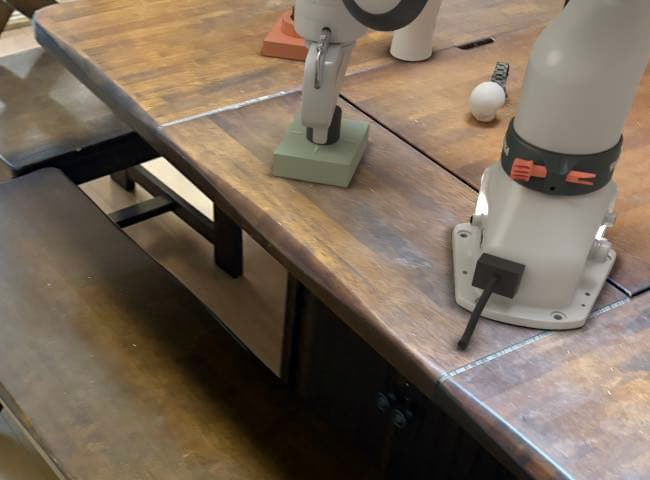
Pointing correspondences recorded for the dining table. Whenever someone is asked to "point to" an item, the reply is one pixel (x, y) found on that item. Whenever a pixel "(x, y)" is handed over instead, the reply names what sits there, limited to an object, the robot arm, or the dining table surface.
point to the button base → (285, 40)
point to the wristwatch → (501, 75)
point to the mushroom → (486, 101)
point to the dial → (333, 128)
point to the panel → (321, 154)
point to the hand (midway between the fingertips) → (323, 130)
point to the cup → (417, 35)
